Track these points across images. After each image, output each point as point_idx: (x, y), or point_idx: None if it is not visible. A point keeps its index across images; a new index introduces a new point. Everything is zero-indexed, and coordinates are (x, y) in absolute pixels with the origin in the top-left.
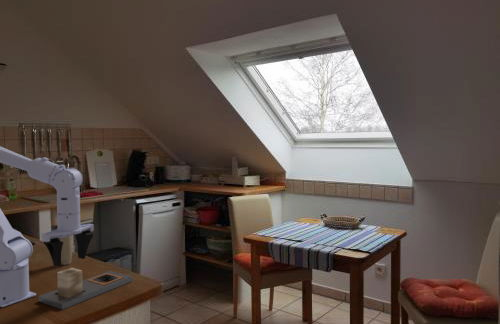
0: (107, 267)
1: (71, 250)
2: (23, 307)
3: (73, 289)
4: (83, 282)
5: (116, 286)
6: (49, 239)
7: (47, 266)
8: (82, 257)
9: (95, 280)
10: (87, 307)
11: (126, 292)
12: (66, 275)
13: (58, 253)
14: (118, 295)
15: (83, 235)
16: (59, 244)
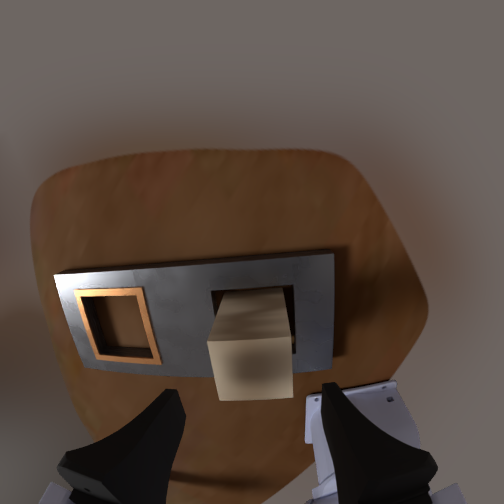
0: (82, 399)
1: None
2: (373, 350)
3: (260, 305)
4: (178, 361)
5: (110, 268)
6: (442, 500)
7: (188, 485)
8: (176, 398)
9: (139, 353)
10: (267, 196)
11: (112, 203)
12: (290, 344)
13: (365, 426)
14: (141, 202)
15: (127, 497)
16: (401, 463)
